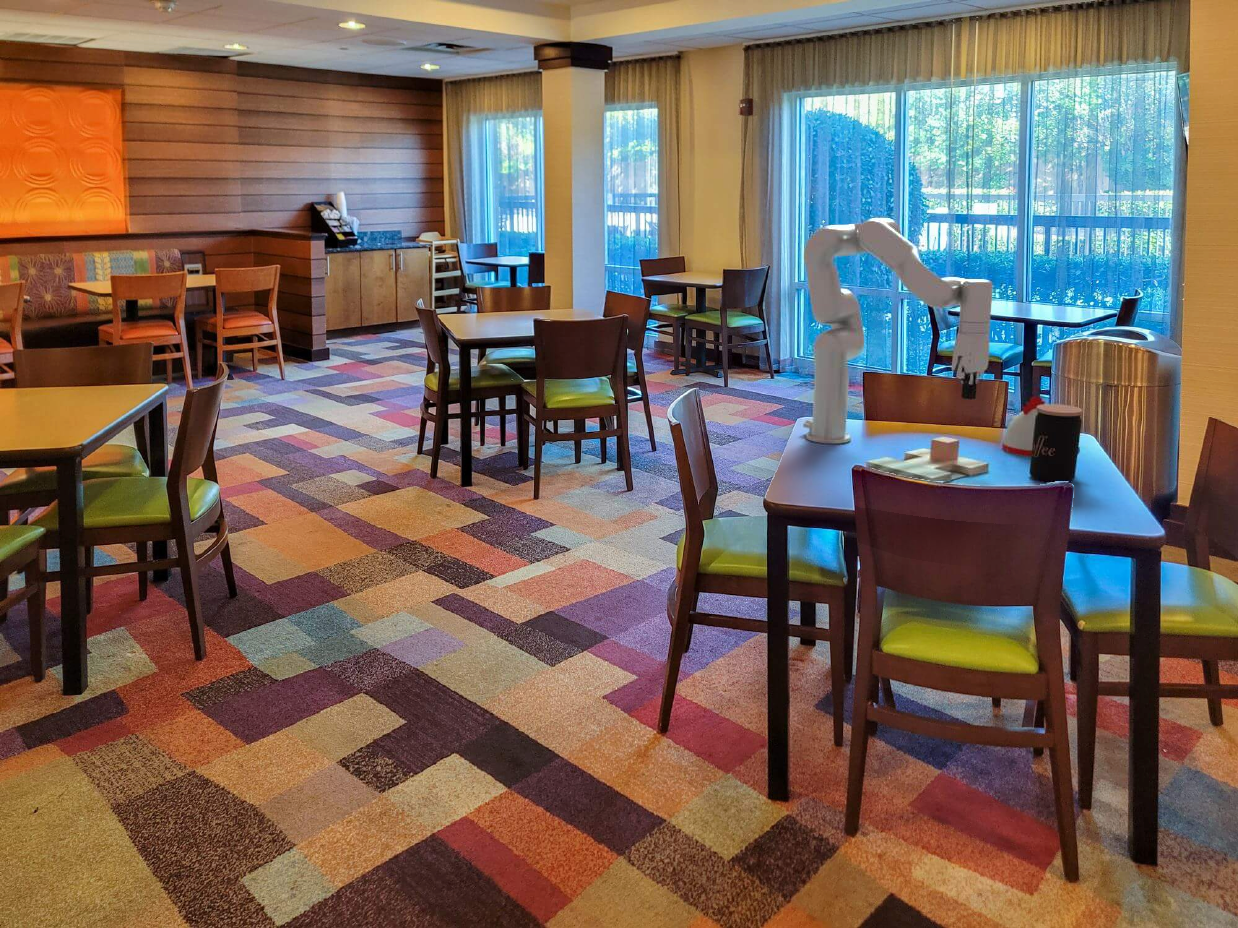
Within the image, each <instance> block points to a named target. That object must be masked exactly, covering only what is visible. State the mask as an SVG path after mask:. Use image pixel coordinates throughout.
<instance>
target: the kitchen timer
mask: <svg viewBox="0 0 1238 928" xmlns="http://www.w3.org/2000/svg"><path fill="white" fill-rule="evenodd" d="M1025 404H1026V406H1022V411H1021V412H1019V413H1018V414H1017V415H1016V416H1015V417H1014V418H1013V419H1012V420H1011V422H1009V423H1007V425H1006V431H1005V433H1004V436H1003V439H1002V444H1001V445H1002V446H1001V448H1002V450H1003V451H1005V452H1006V453H1010V454H1014V455H1020V456H1025V457H1031V453H1032V444H1033V435H1034V426H1035V417H1036V415H1037V414H1038V412H1037V406H1038V405H1043V404H1046V400H1043V397H1041V396H1038V397H1036V396H1034V397H1030V400H1029V401H1026V402H1025Z"/></svg>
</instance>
